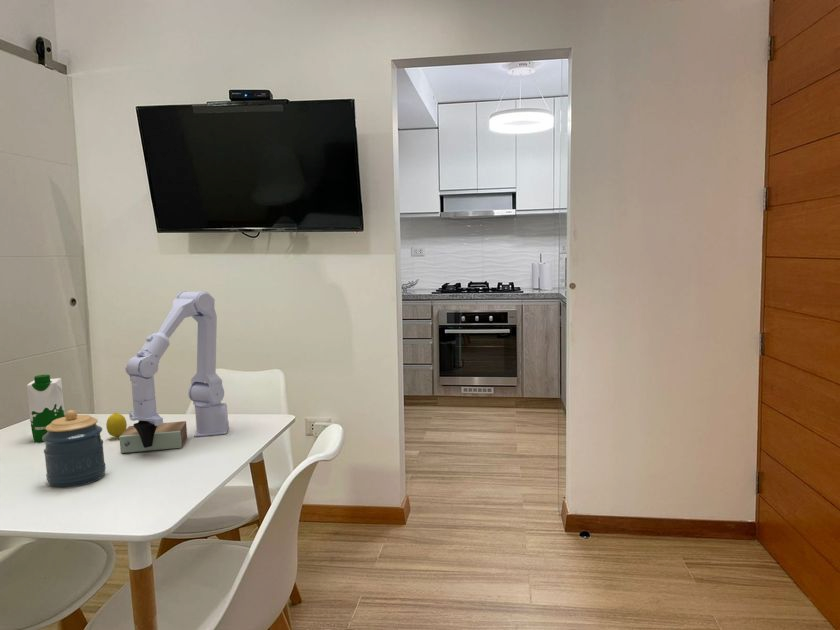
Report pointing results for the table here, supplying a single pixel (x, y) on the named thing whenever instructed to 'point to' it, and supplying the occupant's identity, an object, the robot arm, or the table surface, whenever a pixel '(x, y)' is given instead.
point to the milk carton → (44, 404)
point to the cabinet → (163, 430)
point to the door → (159, 442)
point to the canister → (73, 451)
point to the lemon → (116, 425)
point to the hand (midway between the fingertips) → (148, 446)
